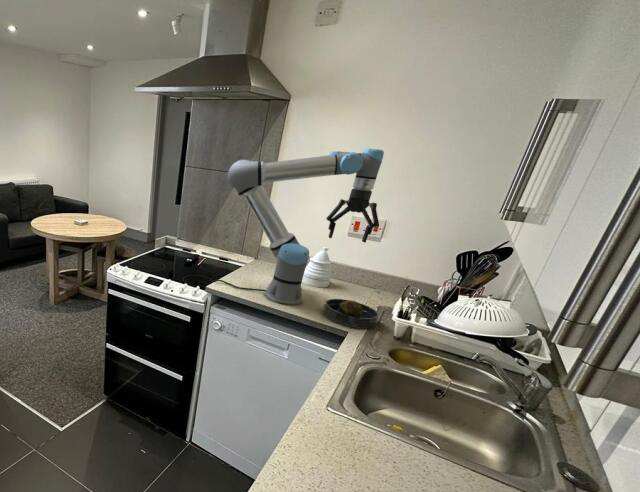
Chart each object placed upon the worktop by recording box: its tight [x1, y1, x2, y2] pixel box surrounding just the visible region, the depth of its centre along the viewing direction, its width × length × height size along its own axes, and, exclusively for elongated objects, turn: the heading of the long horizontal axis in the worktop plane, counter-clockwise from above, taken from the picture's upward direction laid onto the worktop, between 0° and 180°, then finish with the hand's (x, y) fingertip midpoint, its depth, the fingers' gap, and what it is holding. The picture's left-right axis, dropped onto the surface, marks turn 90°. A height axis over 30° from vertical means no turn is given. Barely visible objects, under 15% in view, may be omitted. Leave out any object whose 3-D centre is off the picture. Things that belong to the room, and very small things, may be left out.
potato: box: [340, 299, 363, 317], centre depth 156 cm, size 8×13×8 cm, turn 148°
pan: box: [322, 298, 380, 329], centre depth 157 cm, size 19×19×4 cm
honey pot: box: [301, 246, 332, 288], centre depth 193 cm, size 13×13×18 cm
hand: (346, 239), depth 169 cm, fingers open, 13 cm apart
